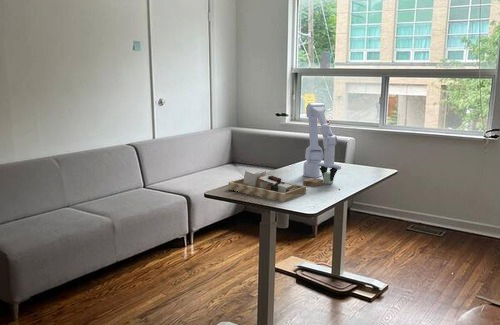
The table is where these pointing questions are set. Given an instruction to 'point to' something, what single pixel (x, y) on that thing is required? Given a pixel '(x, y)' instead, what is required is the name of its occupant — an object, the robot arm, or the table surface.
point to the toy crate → (267, 191)
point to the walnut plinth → (313, 182)
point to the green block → (327, 178)
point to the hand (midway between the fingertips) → (328, 180)
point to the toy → (266, 182)
